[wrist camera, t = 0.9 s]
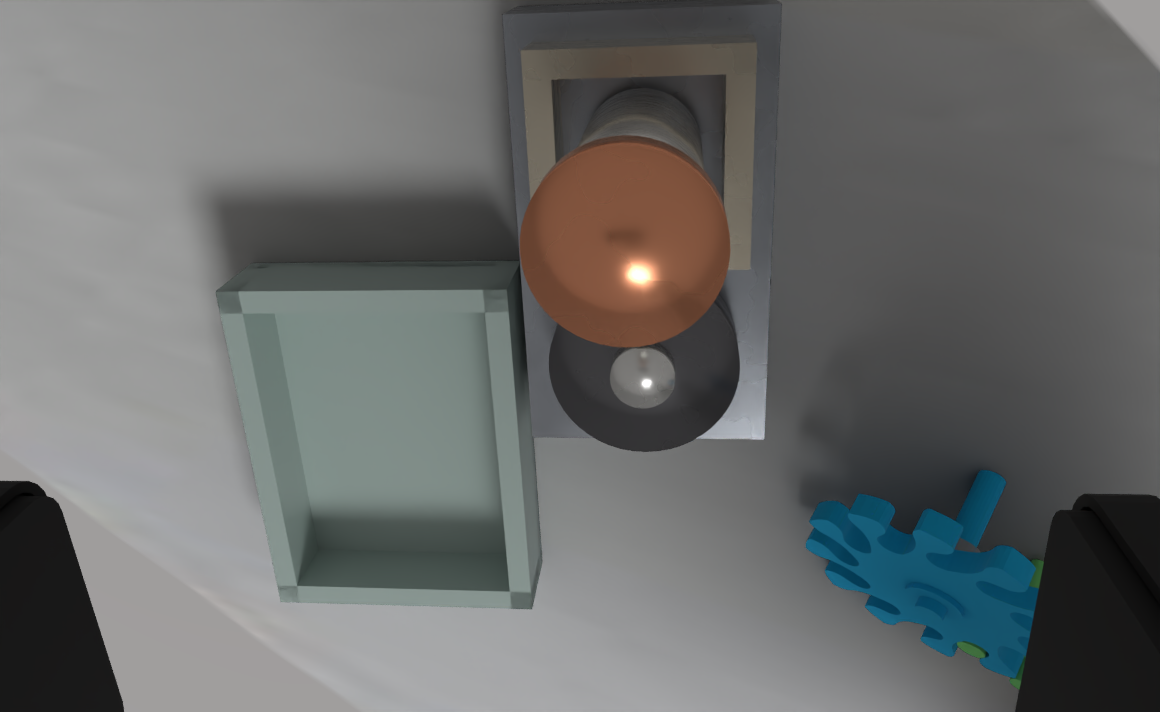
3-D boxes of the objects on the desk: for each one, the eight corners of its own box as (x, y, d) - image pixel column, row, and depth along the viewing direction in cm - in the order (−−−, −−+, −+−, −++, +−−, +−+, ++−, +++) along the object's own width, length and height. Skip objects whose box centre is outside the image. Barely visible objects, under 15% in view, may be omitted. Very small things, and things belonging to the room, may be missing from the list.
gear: (745, 514, 36) (986, 549, 27) (817, 392, 38) (1059, 390, 29) (901, 673, 40) (1151, 746, 31) (957, 555, 42) (1204, 594, 34)
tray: (542, 561, 39) (531, 609, 37) (307, 556, 40) (280, 601, 38) (520, 260, 34) (507, 289, 31) (251, 263, 35) (215, 291, 32)
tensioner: (758, 399, 35) (770, 479, 30) (543, 398, 36) (521, 475, 31) (772, -4, 30) (791, 11, 25) (518, 6, 31) (485, 22, 26)
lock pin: (714, 218, 30) (728, 347, 21) (573, 220, 30) (526, 347, 21) (716, 71, 28) (732, 142, 19) (566, 76, 28) (512, 147, 19)
